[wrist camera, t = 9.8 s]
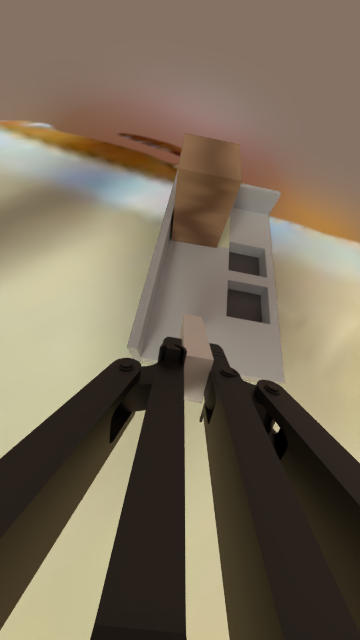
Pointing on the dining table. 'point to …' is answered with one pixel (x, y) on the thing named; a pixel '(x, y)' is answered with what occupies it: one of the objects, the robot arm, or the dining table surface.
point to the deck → (217, 290)
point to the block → (205, 189)
